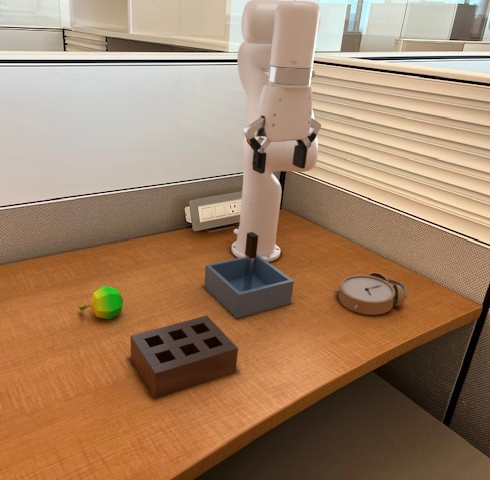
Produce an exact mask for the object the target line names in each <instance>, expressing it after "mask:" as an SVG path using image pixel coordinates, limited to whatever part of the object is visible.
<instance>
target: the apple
mask: <svg viewBox="0 0 490 480" xmlns="http://www.w3.org/2000/svg"><path fill="white" fill-rule="evenodd" d="M123 304H124V298H123V296H122V295H121V292H120V291H119V290H118V288H115V287H111V286H107V285H103V286H102V287H100V288H99V289H97V290H96V291H94V292H93V293H92V296H91V301H90V304H89V305H86V304H84V305H83V306H78V309H79V310H80V313H79V315H80V314H82V313H83V312H84V311H85V310H87V308H91V309H92V311H93V313H94V315H95V316H96V318H100V319H105V320H111V319H112V318H113V319H114V317H116V316H117V315H119V314H120V313H121V311H122V308H123Z"/></svg>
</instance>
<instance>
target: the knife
mask: <svg viewBox="0 0 490 480" xmlns="http://www.w3.org/2000/svg"><path fill="white" fill-rule="evenodd" d="M257 244H258V235H256V234H255V233H253V232H249V233H247V238H246V249H245V255H247V256H246V267H245V277H244V287H243V291H247V290H251V285H252V275H253V266H254V258H256V254H257Z"/></svg>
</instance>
